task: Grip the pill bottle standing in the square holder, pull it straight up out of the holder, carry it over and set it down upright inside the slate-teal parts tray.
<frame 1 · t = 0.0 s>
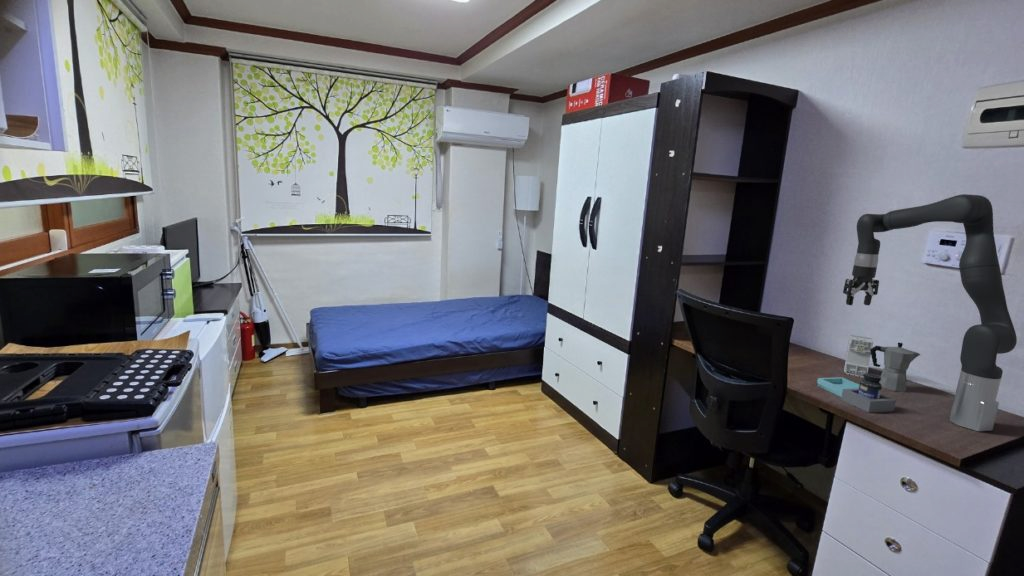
hand: (858, 305, 191), 29 cm above the table, tool pointing down, fingers open, 8 cm apart
parts tray: (841, 390, 178), on the table
holder: (866, 405, 165), on the table
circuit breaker: (854, 371, 202), on the table
coffeepot: (887, 387, 185), on the table
pill bottle: (866, 405, 166), resting in holder
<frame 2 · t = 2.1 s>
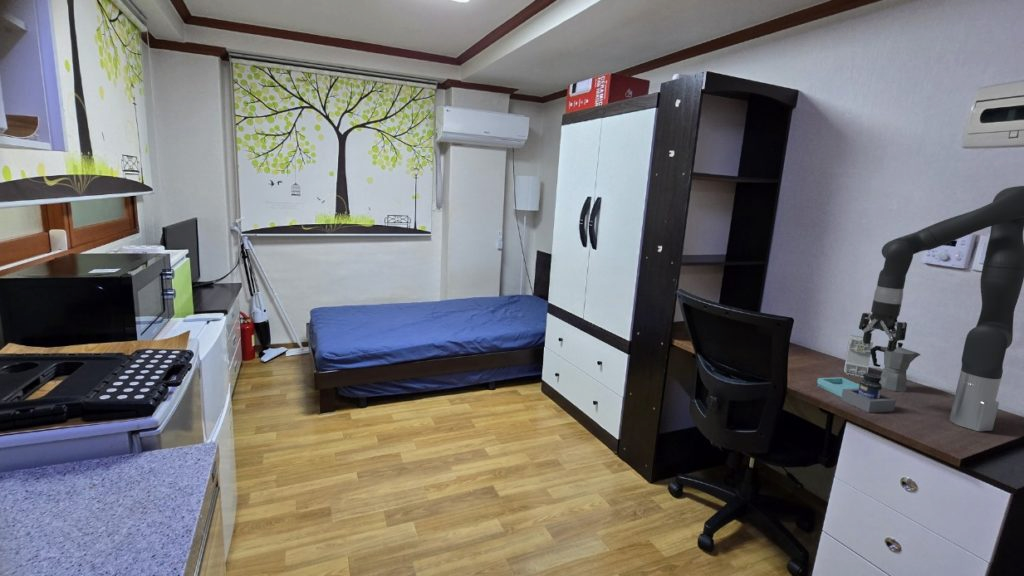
hand: (878, 347, 162), 21 cm above the table, tool pointing down, fingers open, 8 cm apart
nothing on the table moved.
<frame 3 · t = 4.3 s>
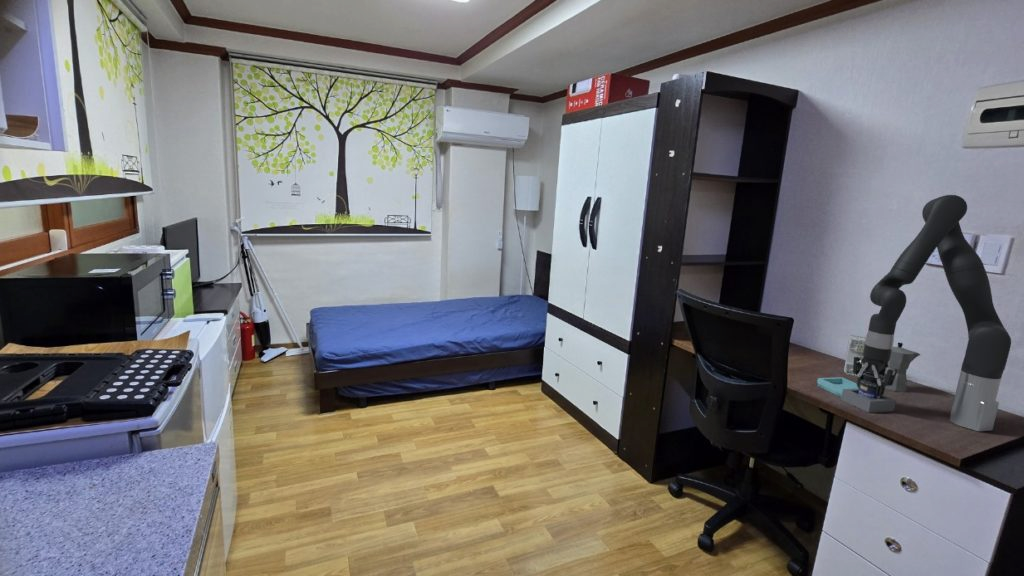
hand: (869, 391, 165), 5 cm above the table, tool pointing down, fingers closed on pill bottle, 6 cm apart
pill bottle: (866, 405, 166), resting in holder, touching gripper
everything else where it was.
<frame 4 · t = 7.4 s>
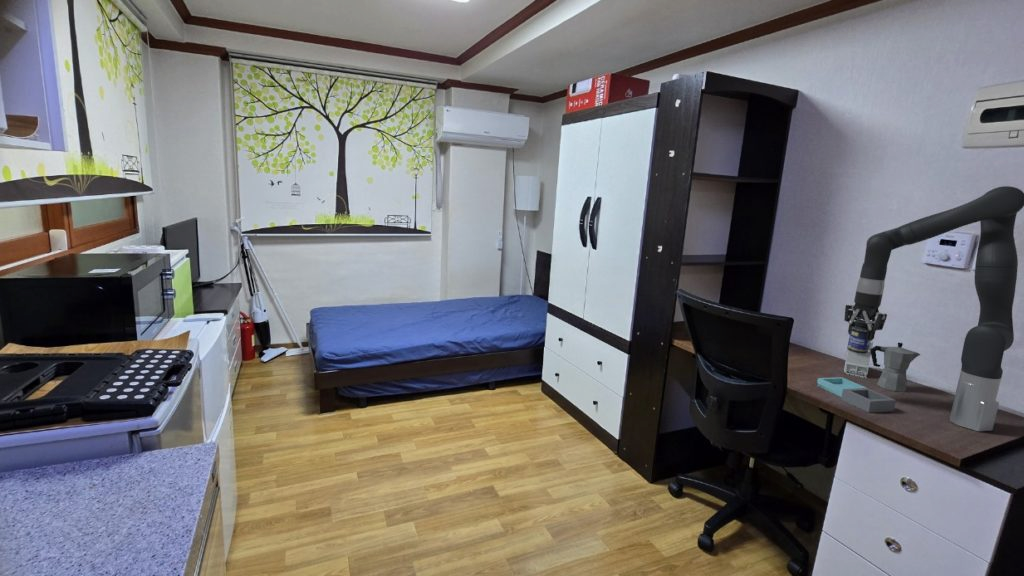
hand: (860, 337, 169), 22 cm above the table, tool pointing down, fingers closed on pill bottle, 6 cm apart
pill bottle: (857, 351, 170), point 17 cm above the table, touching gripper
everything else where it was.
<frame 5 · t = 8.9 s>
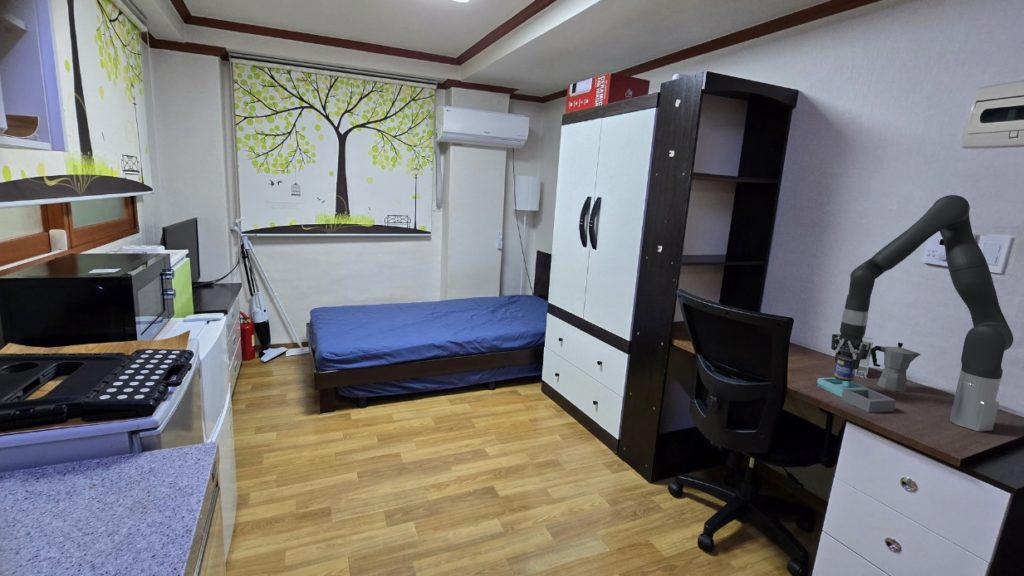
hand: (845, 365, 176), 10 cm above the table, tool pointing down, fingers closed on pill bottle, 6 cm apart
pill bottle: (843, 379, 177), point 4 cm above the table, touching gripper
everything else where it was.
when the fingers open (7 cm above the table, at t = 10.4 s): pill bottle stays where it is, resting on parts tray.
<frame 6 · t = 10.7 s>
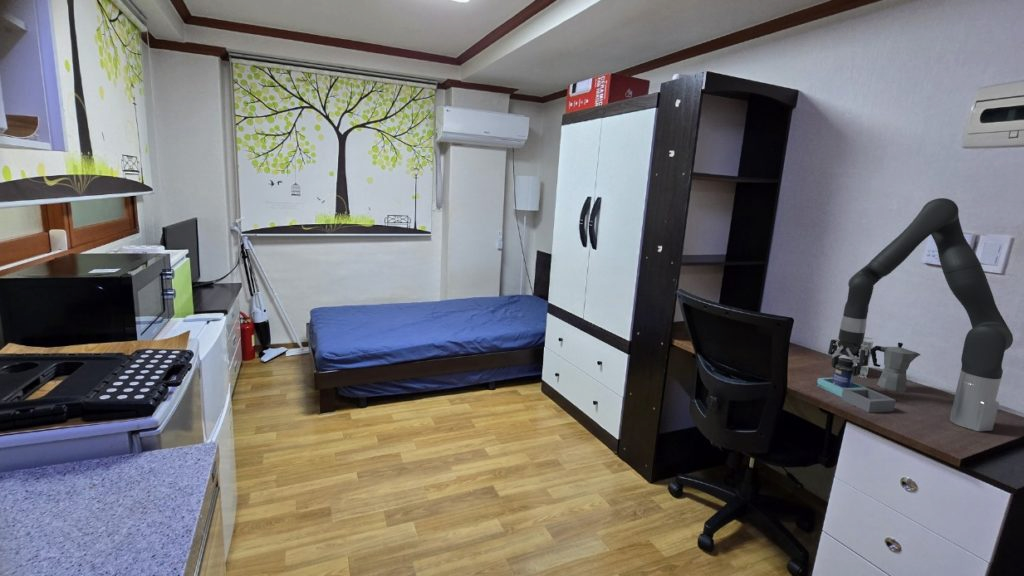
hand: (844, 371, 177), 8 cm above the table, tool pointing down, fingers open, 8 cm apart
pill bottle: (841, 388, 178), point 1 cm above the table, touching parts tray
everything else where it was.
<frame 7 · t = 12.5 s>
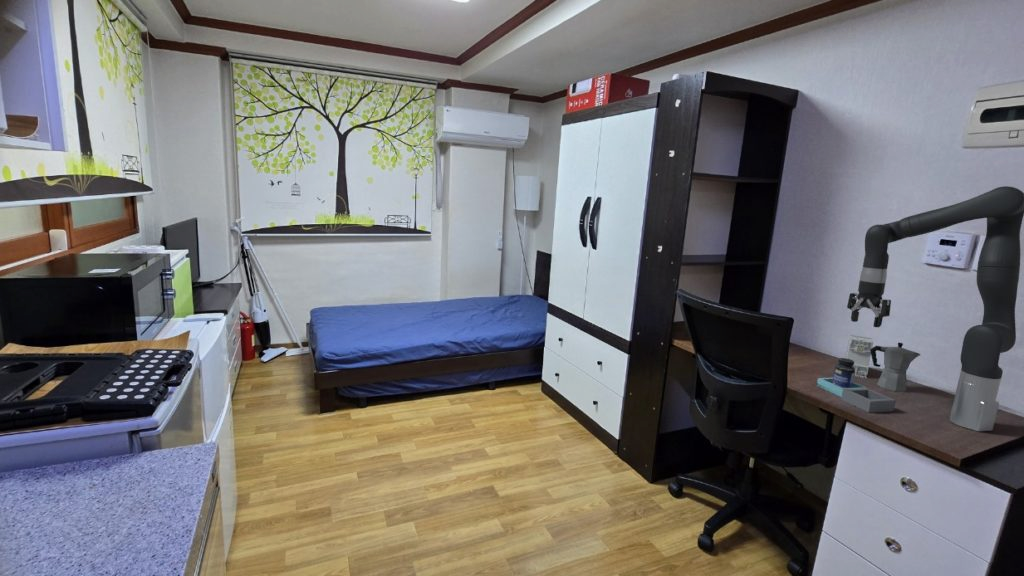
hand: (865, 324, 174), 26 cm above the table, tool pointing down, fingers open, 8 cm apart
nothing on the table moved.
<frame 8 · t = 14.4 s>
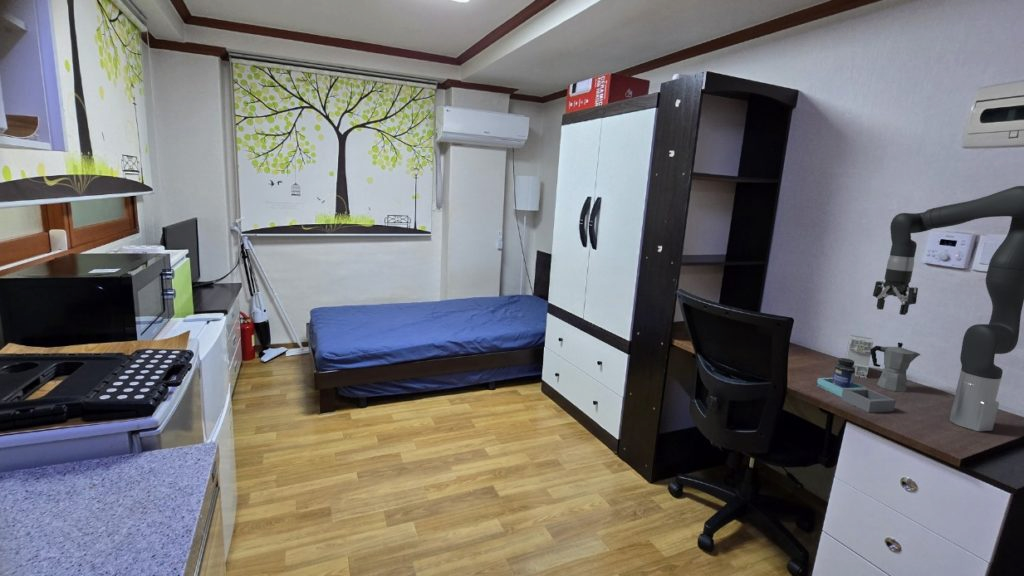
hand: (891, 311, 177), 30 cm above the table, tool pointing down, fingers open, 8 cm apart
nothing on the table moved.
at the end: pill bottle 0.1 cm off-centre on the parts tray, point 0.8 cm above the parts tray's base; pill bottle tilted 0°; the gripper is holding nothing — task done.
